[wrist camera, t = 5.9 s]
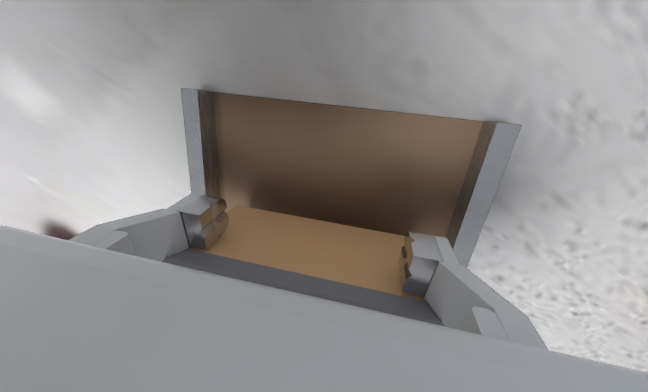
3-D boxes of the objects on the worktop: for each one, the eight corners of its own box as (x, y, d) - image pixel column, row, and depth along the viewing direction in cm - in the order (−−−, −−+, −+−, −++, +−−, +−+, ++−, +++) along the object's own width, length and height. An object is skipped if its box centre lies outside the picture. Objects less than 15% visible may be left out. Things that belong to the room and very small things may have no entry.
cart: (237, 187, 15) (148, 256, 9) (422, 218, 13) (457, 328, 8) (248, 281, 19) (191, 370, 13) (390, 315, 17) (396, 433, 12)
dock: (206, 86, 15) (110, 92, 9) (499, 117, 12) (591, 148, 7) (242, 328, 26) (209, 390, 21) (393, 368, 24) (397, 449, 19)
